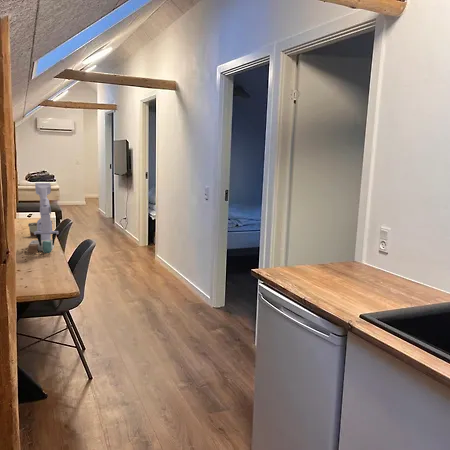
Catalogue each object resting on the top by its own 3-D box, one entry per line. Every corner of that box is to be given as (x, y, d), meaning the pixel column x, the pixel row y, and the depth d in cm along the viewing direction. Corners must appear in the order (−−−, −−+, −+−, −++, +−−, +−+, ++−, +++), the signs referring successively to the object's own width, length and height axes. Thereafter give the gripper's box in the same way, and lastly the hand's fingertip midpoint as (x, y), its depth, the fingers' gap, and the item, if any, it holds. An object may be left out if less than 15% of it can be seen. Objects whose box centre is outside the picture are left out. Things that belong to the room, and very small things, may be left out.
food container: (47, 235, 349) (47, 222, 347) (43, 236, 343) (43, 223, 341) (32, 234, 350) (32, 222, 348) (28, 236, 344) (28, 223, 342)
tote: (32, 247, 305) (32, 240, 304) (54, 246, 308) (54, 239, 307) (29, 251, 294) (29, 243, 293) (52, 250, 297) (51, 243, 296)
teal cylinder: (43, 251, 294) (43, 240, 293) (51, 251, 296) (51, 240, 294) (42, 252, 290) (42, 242, 288) (50, 252, 291) (50, 242, 290)
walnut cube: (29, 251, 292) (29, 244, 292) (38, 251, 294) (37, 244, 293) (28, 253, 288) (28, 245, 287) (36, 253, 289) (36, 245, 288)
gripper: (32, 225, 284) (34, 246, 286) (57, 225, 288) (57, 246, 290) (34, 224, 291) (35, 244, 293) (58, 223, 294) (59, 243, 296)
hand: (46, 245), depth 292 cm, fingers open, 7 cm apart
